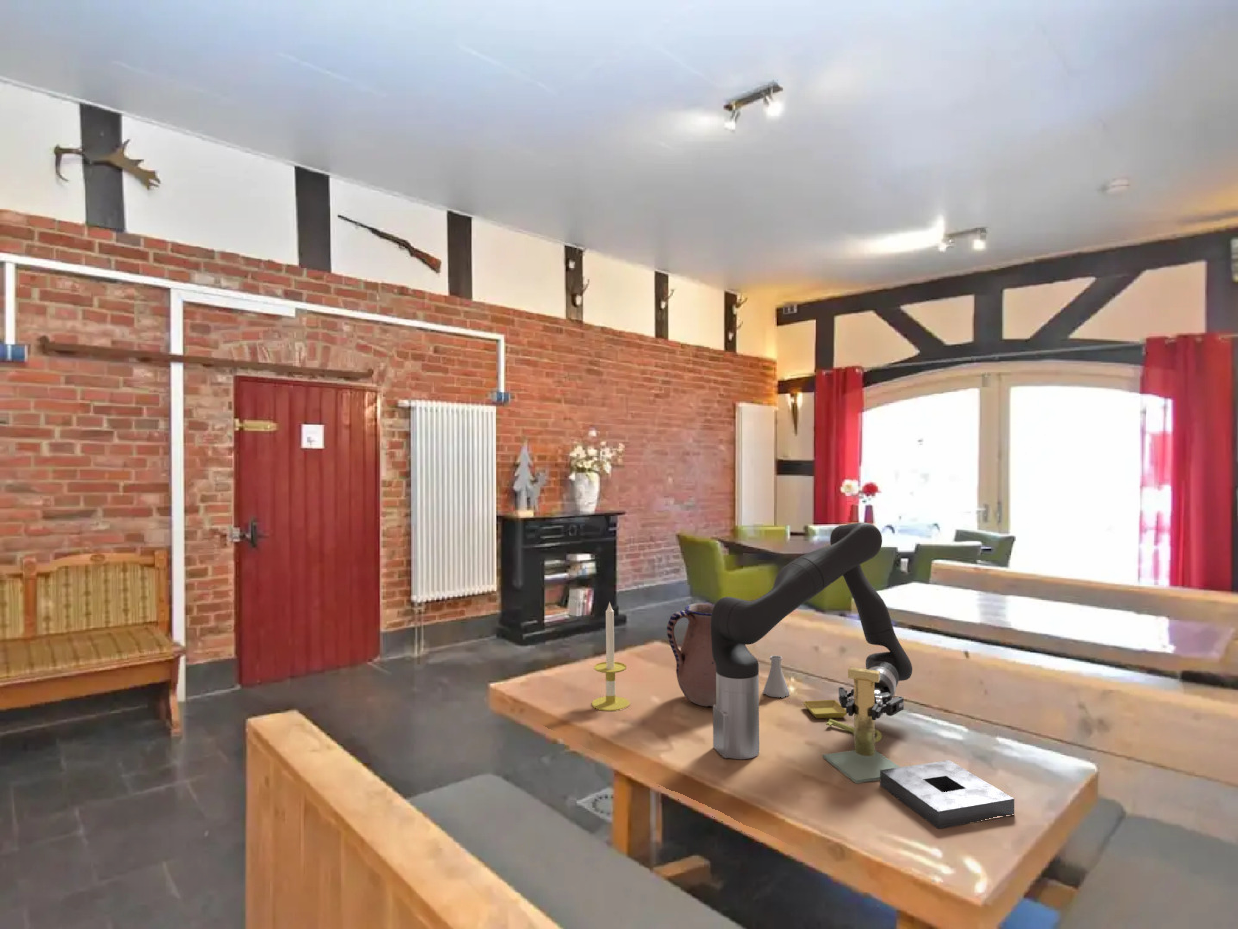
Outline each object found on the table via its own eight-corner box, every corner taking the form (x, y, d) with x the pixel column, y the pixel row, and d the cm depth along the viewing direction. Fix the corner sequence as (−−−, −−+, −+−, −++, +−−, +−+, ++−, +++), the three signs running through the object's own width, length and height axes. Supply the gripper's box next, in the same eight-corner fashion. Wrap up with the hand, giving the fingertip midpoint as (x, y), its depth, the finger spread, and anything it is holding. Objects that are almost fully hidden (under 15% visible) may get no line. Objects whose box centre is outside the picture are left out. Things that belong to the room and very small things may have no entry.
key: (827, 726, 162) (827, 717, 162) (882, 735, 157) (882, 726, 157) (822, 738, 156) (822, 728, 156) (880, 747, 151) (880, 738, 151)
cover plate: (938, 829, 117) (938, 811, 117) (880, 785, 132) (880, 770, 132) (1014, 815, 121) (1014, 798, 121) (949, 775, 136) (949, 760, 136)
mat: (856, 783, 133) (856, 780, 133) (822, 757, 145) (822, 754, 145) (908, 775, 136) (908, 772, 136) (871, 750, 148) (871, 748, 148)
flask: (785, 700, 179) (784, 662, 179) (758, 695, 183) (758, 658, 183) (793, 692, 185) (793, 655, 185) (767, 687, 189) (767, 651, 189)
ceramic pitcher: (758, 704, 176) (757, 608, 176) (696, 722, 164) (695, 619, 164) (712, 685, 191) (711, 597, 190) (652, 701, 179) (651, 607, 179)
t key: (847, 752, 140) (846, 671, 140) (851, 745, 144) (850, 665, 144) (878, 758, 137) (877, 675, 137) (881, 751, 141) (880, 669, 141)
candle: (626, 712, 172) (625, 606, 171) (587, 710, 173) (586, 605, 173) (632, 698, 181) (631, 597, 181) (596, 696, 183) (594, 596, 183)
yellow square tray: (814, 722, 165) (814, 713, 165) (802, 708, 174) (802, 700, 174) (848, 720, 166) (848, 712, 166) (835, 707, 174) (835, 699, 174)
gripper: (843, 666, 156) (825, 689, 142) (910, 675, 149) (898, 701, 134) (844, 698, 157) (826, 725, 142) (910, 709, 149) (899, 738, 135)
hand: (861, 713), depth 138 cm, fingers closed on t key, 4 cm apart
